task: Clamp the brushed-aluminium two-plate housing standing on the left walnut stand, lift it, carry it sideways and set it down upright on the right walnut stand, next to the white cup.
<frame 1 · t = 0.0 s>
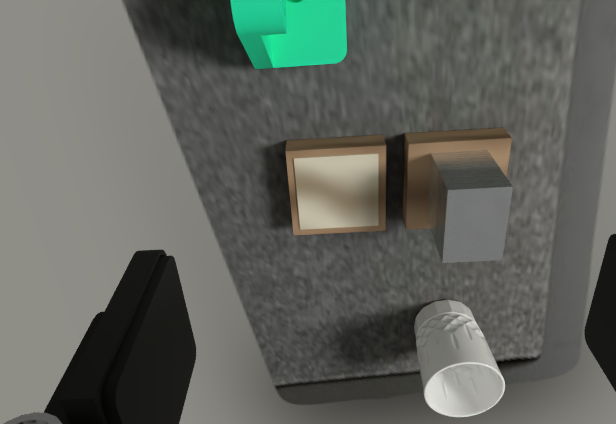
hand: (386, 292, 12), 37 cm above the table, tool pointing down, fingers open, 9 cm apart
stand a: (450, 174, 51), on the table
stand b: (336, 180, 51), on the table
housing: (456, 186, 49), point 2 cm above the table, touching stand a
white cup: (442, 320, 61), on the table
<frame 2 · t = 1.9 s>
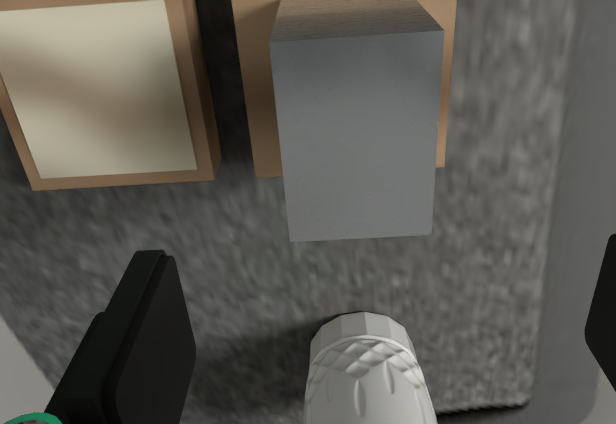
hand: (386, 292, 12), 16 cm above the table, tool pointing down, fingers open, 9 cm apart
stand a: (343, 63, 25), on the table
stand b: (115, 78, 25), on the table
housing: (346, 80, 23), point 2 cm above the table, touching stand a
white cup: (360, 346, 35), on the table
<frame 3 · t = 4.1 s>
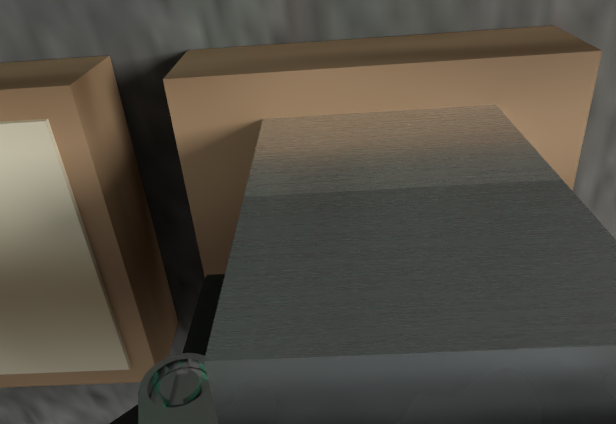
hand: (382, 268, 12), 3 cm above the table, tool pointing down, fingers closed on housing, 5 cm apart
stand a: (369, 197, 15), on the table
stand b: (1, 217, 16), on the table
housing: (378, 246, 13), point 2 cm above the table, touching gripper, stand a
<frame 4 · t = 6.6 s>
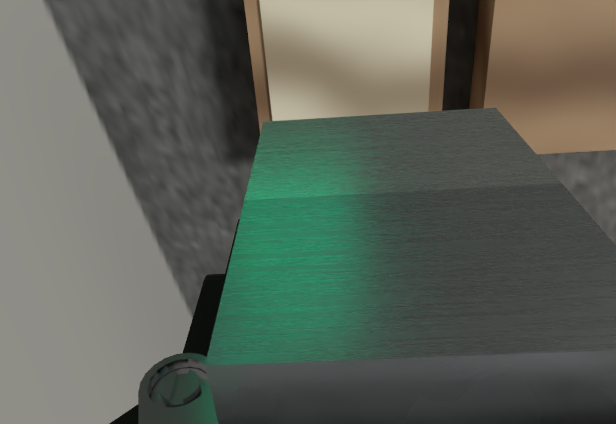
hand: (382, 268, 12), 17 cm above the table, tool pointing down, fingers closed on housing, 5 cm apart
stand a: (564, 50, 27), on the table
stand b: (345, 64, 27), on the table
housing: (378, 248, 13), point 16 cm above the table, touching gripper
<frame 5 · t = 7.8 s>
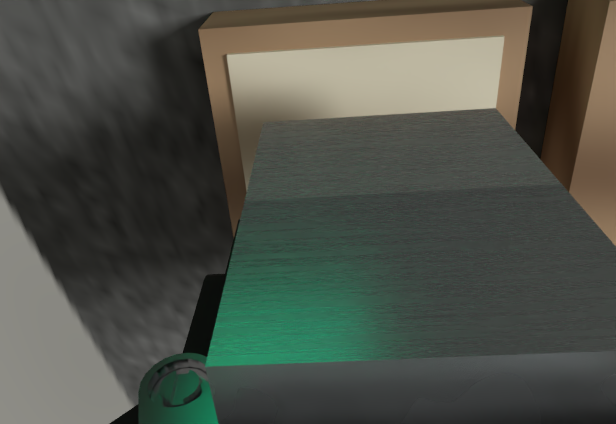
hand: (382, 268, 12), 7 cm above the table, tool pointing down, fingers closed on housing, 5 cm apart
stand b: (359, 136, 19), on the table
housing: (378, 248, 13), point 7 cm above the table, touching gripper
when the fingers open (5 cm above the table, at t = 9.1 s): housing drops 1 cm, resting on stand b.
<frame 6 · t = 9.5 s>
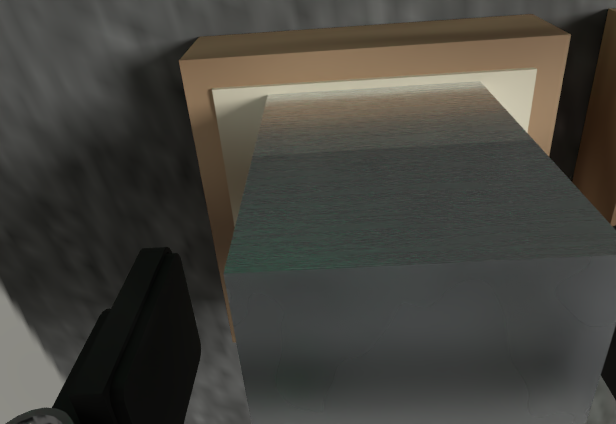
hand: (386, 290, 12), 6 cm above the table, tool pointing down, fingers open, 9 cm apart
stand b: (365, 174, 17), on the table
housing: (373, 214, 14), point 3 cm above the table, touching stand b
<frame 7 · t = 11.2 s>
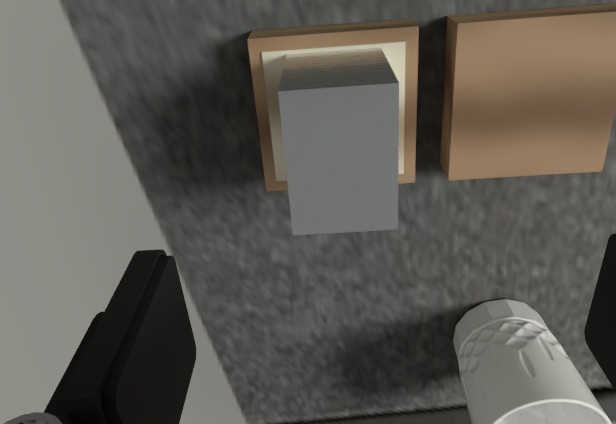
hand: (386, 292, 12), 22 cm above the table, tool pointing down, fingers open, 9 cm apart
stand a: (519, 89, 31), on the table
stand b: (335, 102, 32), on the table
housing: (336, 114, 29), point 3 cm above the table, touching stand b
white cup: (495, 330, 41), on the table
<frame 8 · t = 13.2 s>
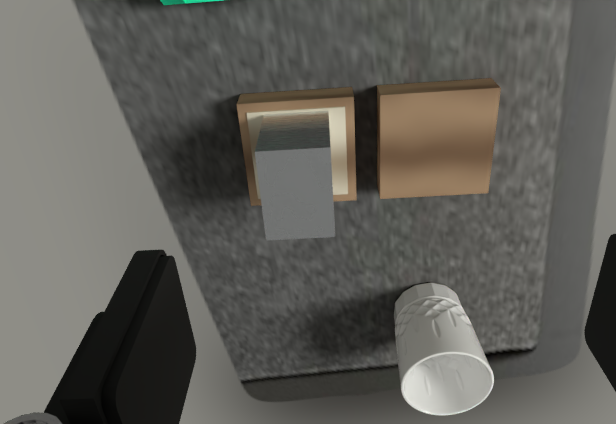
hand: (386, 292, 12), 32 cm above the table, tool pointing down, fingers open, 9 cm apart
stand a: (430, 134, 44), on the table
stand b: (300, 142, 45), on the table
housing: (299, 154, 42), point 3 cm above the table, touching stand b
white cup: (426, 306, 54), on the table
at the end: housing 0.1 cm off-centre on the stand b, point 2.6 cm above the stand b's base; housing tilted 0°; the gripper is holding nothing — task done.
